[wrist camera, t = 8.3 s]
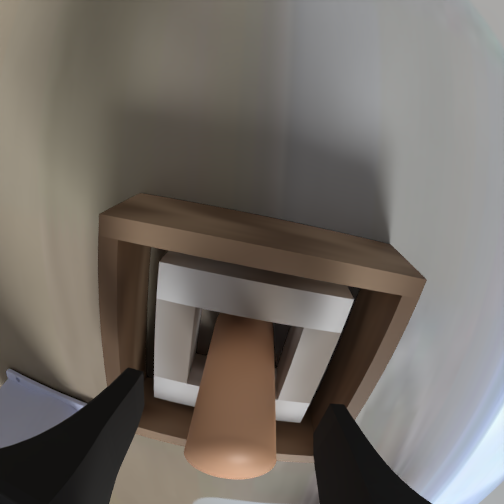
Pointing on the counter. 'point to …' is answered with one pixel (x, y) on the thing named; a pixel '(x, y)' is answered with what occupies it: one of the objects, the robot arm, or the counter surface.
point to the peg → (236, 402)
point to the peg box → (249, 308)
